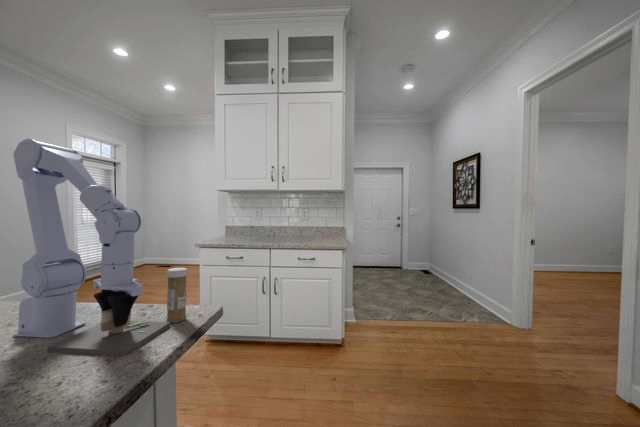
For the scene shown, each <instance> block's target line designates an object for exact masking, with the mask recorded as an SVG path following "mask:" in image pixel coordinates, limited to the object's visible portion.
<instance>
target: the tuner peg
mask: <svg viewBox="0 0 640 427" xmlns="http://www.w3.org/2000/svg"><path fill="white" fill-rule="evenodd" d="M100 316H101V317H100V323H101V331H102V332H104V331H108V334H118V333H121V332H122V331H123V327H124V326H125V327H124V329H127V328H131V327H135V326H139V325H143V324H147V323H150V320H144V321H145V322H141V323H137V324H133V325H131V321H132V320H131V318H132V310H131V311H130V314H129V317H128V321H127V323H126V324H125V325H122V326H119V327H115V326H114V322H113V312H112V309H110V310H105V311H102V310H101V312H100ZM128 325H129V326H128Z"/></svg>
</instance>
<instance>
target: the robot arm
mask: <svg viewBox="0 0 640 427" xmlns="http://www.w3.org/2000/svg"><path fill="white" fill-rule="evenodd" d="M12 155H13V160H14V164H15V170H16V174H17V177H18V178H19V179H20V180H21V181H22V188H23V193H24V199H25V203H26V208H27V212H28V214H27V215H28V218H29V223H30V229H31V233H32V238H33V243H34V249H35V254H34V255H33V256H30V258H28V259H27V260H26V261H25V262H24V263H22V264H21V265H22V266H21V267H22V275H21V280H20V283H21V288H22V289H23V291H24V292H25V293H26V294H27V295H25V297H23V298H22V300H21V301H20V303H19V306H18V323H17V324H18V326H17V330H18V331H17V332H15V333H13V337H25V338H26V337H27V338H47V339H52V338H55V337H57V336H60V335H63V334H64V333H68V332H69V331H72V330H75V329H78V328H79V327H81V326H84V325H86V321H78V320H77V319H76V318H77V315H76V314H77V290H79V289H81V285H83V283H85V281H86V280H87V275H88V271H87V267H86V265H85V264H84V263H83V261H82V258H81V254H80V253H77V252H75V251H73V250H71V249H69V247H68V243H67V238H66V234H65V230H64V224H63V223H64V222H63V219H62V215H61V210H60V205H59V200H58V195H57V190H56V186H58V185H60V184H64V183H65V182H66V181H69V183H71V185H73V186H74V187H75V188H76V189H77V190H78V192H80V194H79V200H80V202H81V203H82V204H83V205H84V207H85V208H86V209H87V210H88V212H90V213H91V215H92V216H93V217H94V218H95V219H96V220H95V221H94V227H95V230H96V232H97V233H98V240H99V242H100V244H101V264H100V265H101V266H100V268H101V269H100V278H96V279H93V281H92V289H94V290H95V289H100V290H101V291H100V292H96V293H94V294H93V297H94V299H95V300H96V301H97V303H98V305H99V307H100V309H101V311H105V310H110V309H112V312H113V322H114V326H115V327H119V326H122V325H125V324H126V323H127V321H128V317H129V314H130V311H131V312H132V309H133V305H134V304H135V302H136V300H137V299H138V297H139V296H142V295H144V285H143V284H140V283H139V281H138V280H139V279H138V278H134V262H135V259H134V258H135V257H134V256H135V233H137V232H138V231H139V230H140V228H141V227H142V226H141V225H142V218H141V215H140V214H139V212H138V210H136V209H133V208H129V207H127V206H125V205H124V203H123V202H122V201H121V200H119V199H118V198H117V196H115V194H114V193H113V190H112V188H111V187H109V186H105V185H102V184H98V183H97V182H96V181H95V179H94V178H93V176H92V175H91V174H90V172H89V171H88V169H87V168H86V167H85V166H84V157H83V156H82V155H80V153H79V152H78V150H77V149H74V148H70V147H68V148H67V147H63V146H59V145H55V144H51V143H46V142H42V141H37V140H35V139H32V138H25V139H23V140H21V141H20V142H19V143H18V144H17V145H16V148H15V149H14V151H13V154H12Z"/></svg>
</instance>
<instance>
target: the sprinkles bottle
mask: <svg viewBox="0 0 640 427" xmlns="http://www.w3.org/2000/svg"><path fill="white" fill-rule="evenodd" d="M166 276H167V294H166V295H167V297H166V298H167V300H166V301H167V303H166V306H167V307H166V308H167V313H166V314H167V315H166V316H167V318H166V322H170V324H173V323H175V324H176V323H180V322H183V321H184V320H185V319H187V316H186V306H187V276H188V268H186V267H173V268H168V269H167V273H166Z"/></svg>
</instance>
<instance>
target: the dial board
mask: <svg viewBox="0 0 640 427" xmlns="http://www.w3.org/2000/svg"><path fill="white" fill-rule="evenodd" d="M145 321H146V320H131V325H133V324H137V323H141V322H145ZM149 321H150V320H149ZM128 326H129V325H128ZM124 327H125V326H124ZM124 327H123V331H122V332H121V333H118V334H108V331H104V332H102V331H101V322H100V323H98V324H96V325H94V326H91V327H89V328H88V329H85V330H82V331H80V332H78V333H75V334H74V335H73V334H72V335H71V336H69V337H67V338H64V339H62V340H60V341H58V342H55V343H53V344H51V345H48V346H47V352H48V353H63V354H80V355H97V356H98V355H101V356H116V357H117V356H118V357H125V356H126V355H128V354H130V353H131V352H133V351H135V350H136V349H138V348H139V347H140V346H142V345H144V344H146V342H149V341H150V340H151V339H153V338H155V337H157V336H158V335H159V334H161V333H162V332H164V331H165V330H167V329H168V328H170V327H171V323H170V322H167V321H150V323H147V324H143V325H139V326H135V327H131V328H127V329H124Z"/></svg>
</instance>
